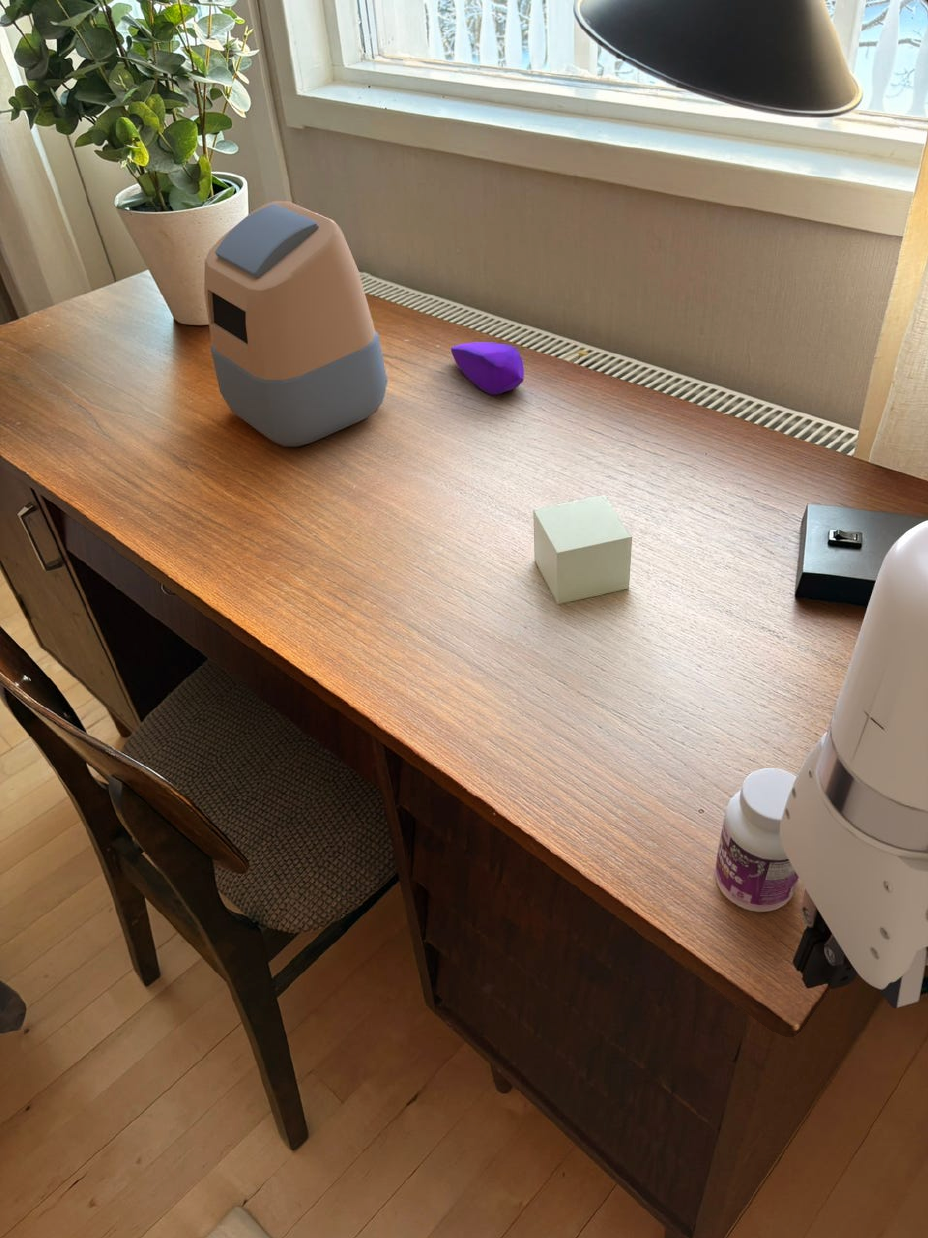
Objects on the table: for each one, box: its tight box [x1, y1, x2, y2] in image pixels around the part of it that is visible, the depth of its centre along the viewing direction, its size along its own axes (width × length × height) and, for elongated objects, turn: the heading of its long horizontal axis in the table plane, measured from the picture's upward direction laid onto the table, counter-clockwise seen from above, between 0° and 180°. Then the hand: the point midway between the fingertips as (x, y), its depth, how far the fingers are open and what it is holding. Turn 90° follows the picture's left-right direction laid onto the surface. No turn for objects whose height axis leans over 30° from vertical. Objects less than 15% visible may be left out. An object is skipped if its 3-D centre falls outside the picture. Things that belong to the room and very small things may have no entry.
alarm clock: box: [203, 200, 388, 447], centre depth 108 cm, size 17×17×23 cm
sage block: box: [532, 494, 633, 605], centre depth 87 cm, size 7×7×6 cm
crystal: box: [450, 341, 525, 396], centre depth 118 cm, size 5×5×15 cm
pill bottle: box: [714, 767, 800, 913], centre depth 61 cm, size 5×5×10 cm
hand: (823, 969), depth 55 cm, fingers closed
